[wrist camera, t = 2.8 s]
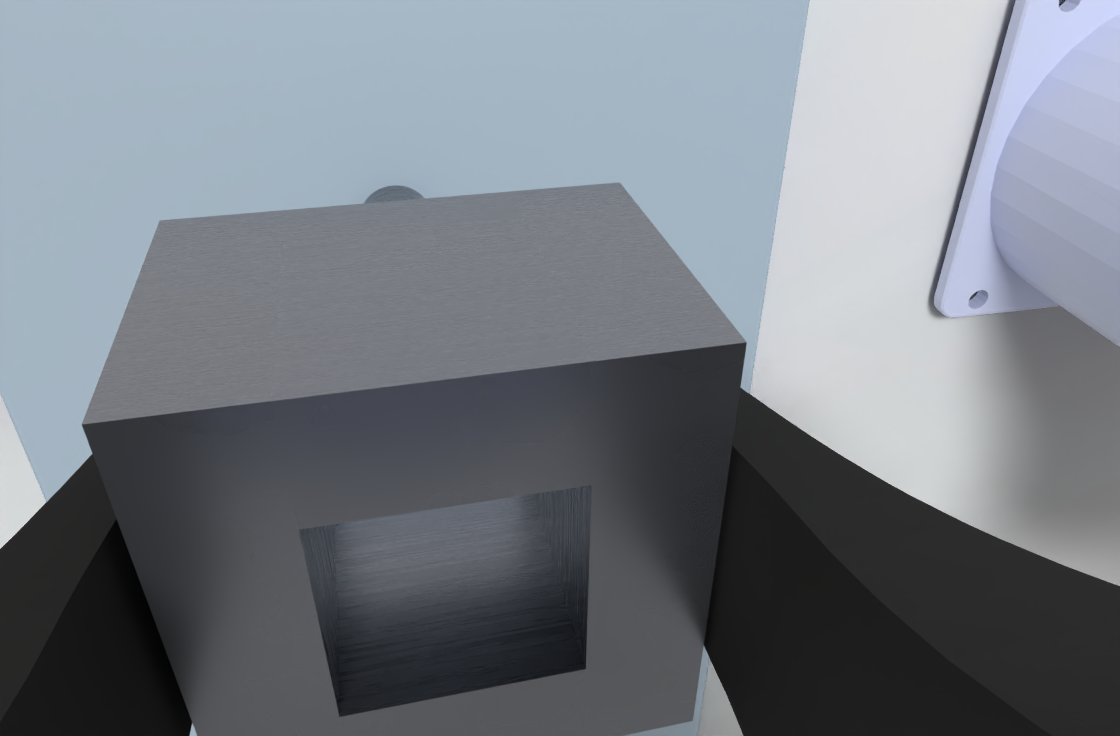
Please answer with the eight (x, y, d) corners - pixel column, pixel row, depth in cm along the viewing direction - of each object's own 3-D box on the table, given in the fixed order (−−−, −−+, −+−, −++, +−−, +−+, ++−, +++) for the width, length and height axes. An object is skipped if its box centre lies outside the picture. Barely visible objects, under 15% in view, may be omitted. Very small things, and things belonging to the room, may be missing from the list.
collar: (619, 182, 11) (747, 342, 8) (605, 507, 14) (692, 720, 11) (159, 220, 10) (82, 425, 7) (251, 562, 13) (228, 818, 10)
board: (797, -83, 16) (820, -76, 15) (682, 744, 31) (692, 770, 30) (-159, -64, 13) (-191, -55, 13) (207, 837, 28) (202, 868, 27)
